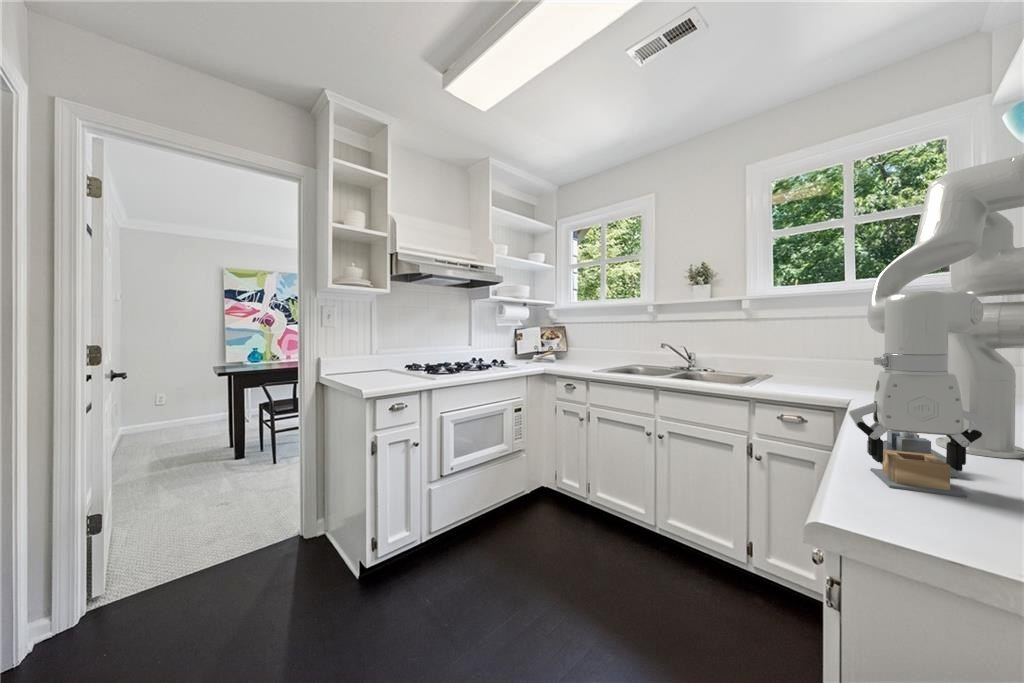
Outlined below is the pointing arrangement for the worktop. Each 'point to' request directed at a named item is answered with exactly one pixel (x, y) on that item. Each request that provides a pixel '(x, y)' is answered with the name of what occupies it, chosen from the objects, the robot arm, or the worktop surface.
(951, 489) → the mat
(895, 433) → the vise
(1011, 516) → the worktop surface
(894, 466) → the collar
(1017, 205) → the robot arm
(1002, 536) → the worktop surface
